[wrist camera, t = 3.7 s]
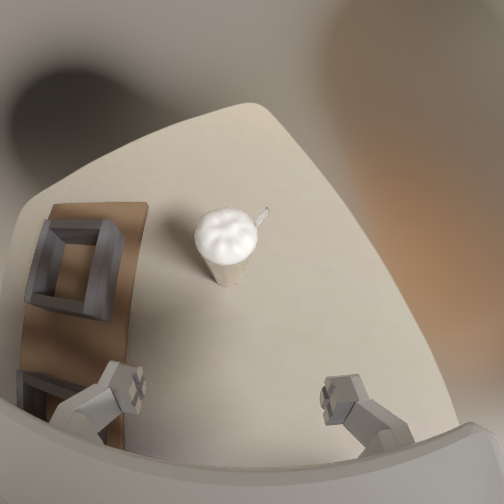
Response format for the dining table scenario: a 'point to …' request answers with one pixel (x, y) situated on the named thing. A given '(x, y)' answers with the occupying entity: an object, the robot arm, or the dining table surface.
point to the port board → (78, 305)
